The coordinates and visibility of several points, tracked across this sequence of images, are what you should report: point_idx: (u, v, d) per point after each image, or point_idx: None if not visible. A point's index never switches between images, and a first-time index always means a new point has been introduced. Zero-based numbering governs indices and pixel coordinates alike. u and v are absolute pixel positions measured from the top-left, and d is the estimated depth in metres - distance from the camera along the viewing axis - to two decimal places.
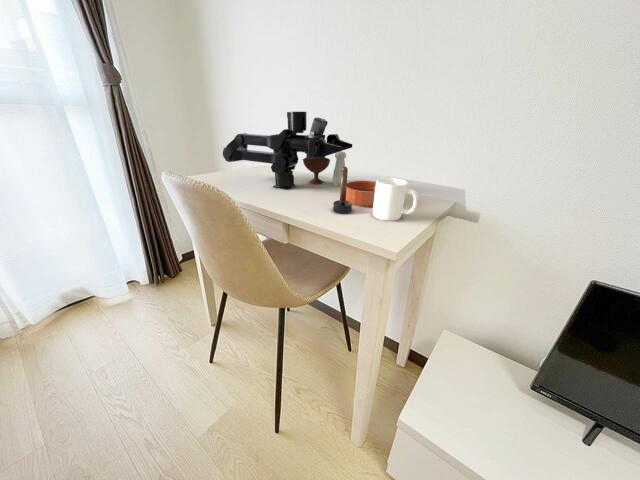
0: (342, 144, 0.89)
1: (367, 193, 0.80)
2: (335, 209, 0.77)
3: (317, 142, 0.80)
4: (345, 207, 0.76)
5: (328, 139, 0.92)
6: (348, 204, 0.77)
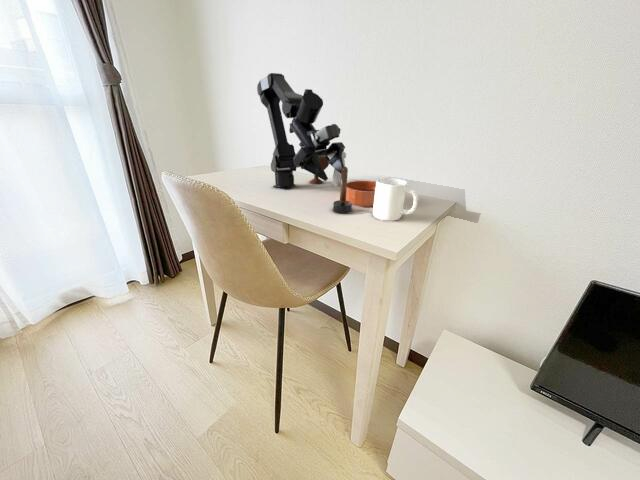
0: (338, 164, 0.79)
1: (367, 193, 0.80)
2: (335, 209, 0.77)
3: (308, 156, 0.69)
4: (345, 207, 0.76)
5: (332, 146, 0.79)
6: (348, 204, 0.77)
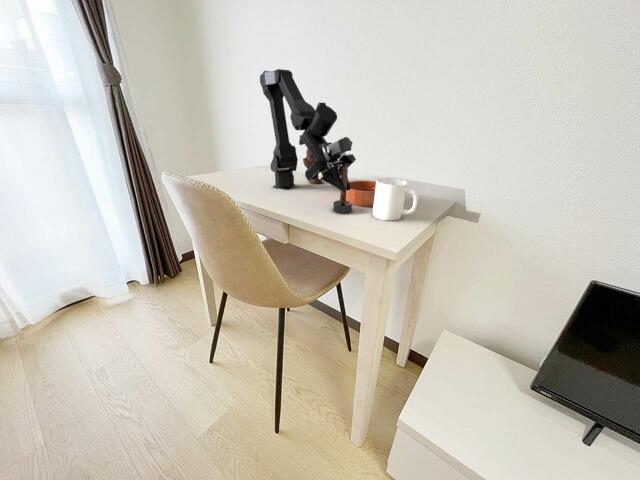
0: None
1: (367, 193, 0.80)
2: (335, 209, 0.77)
3: (328, 169, 0.71)
4: (345, 207, 0.76)
5: (343, 159, 0.79)
6: (348, 204, 0.77)
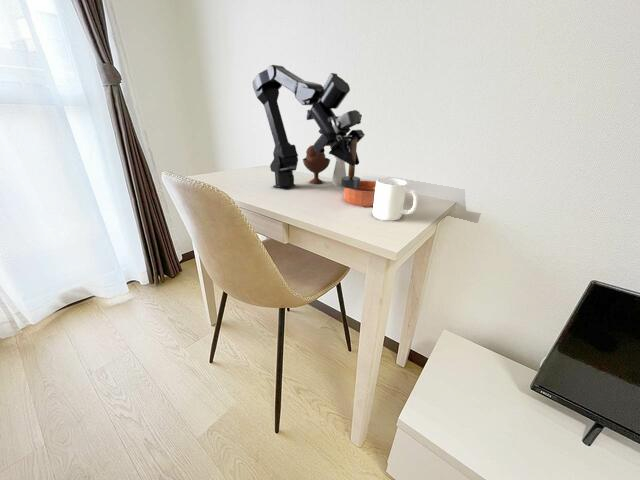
0: None
1: (367, 193, 0.80)
2: (343, 184, 0.77)
3: (338, 141, 0.71)
4: (354, 181, 0.75)
5: (351, 134, 0.78)
6: (356, 179, 0.76)
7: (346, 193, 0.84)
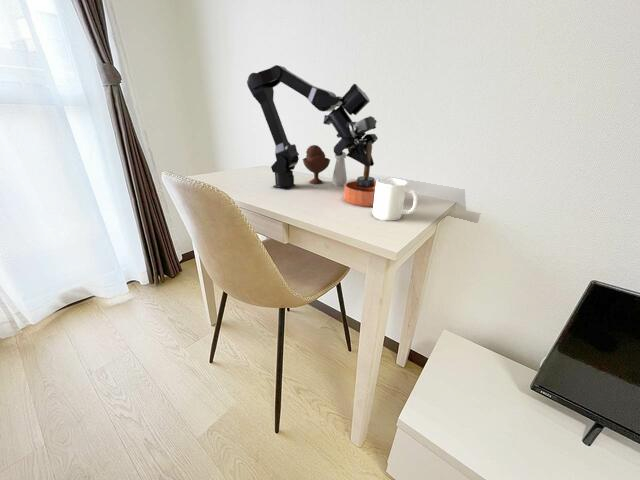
0: None
1: (367, 193, 0.80)
2: (359, 183, 0.84)
3: (355, 144, 0.78)
4: (369, 181, 0.82)
5: (366, 137, 0.85)
6: (371, 179, 0.83)
7: (346, 193, 0.84)
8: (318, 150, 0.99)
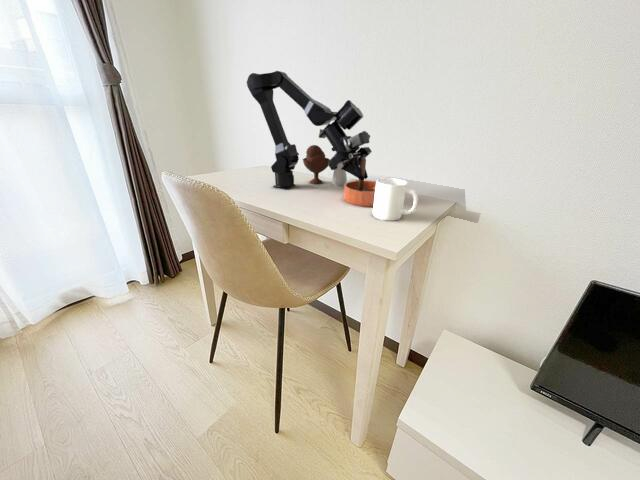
0: None
1: (367, 193, 0.80)
2: None
3: (349, 159, 0.80)
4: None
5: (360, 151, 0.88)
6: None
7: (346, 193, 0.84)
8: (318, 150, 0.99)
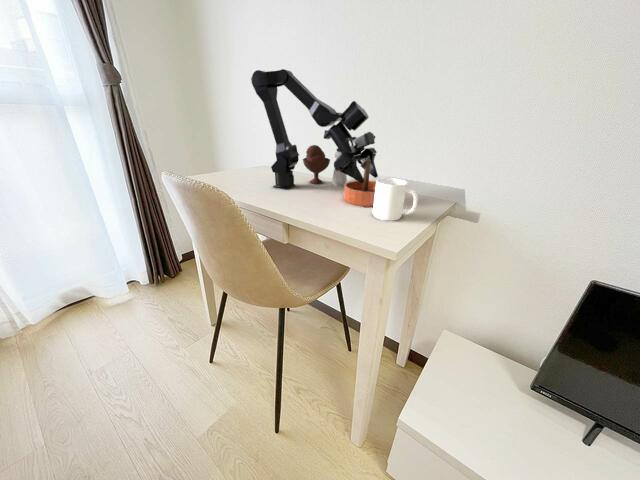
0: (371, 167, 0.87)
1: (367, 193, 0.80)
2: None
3: (348, 161, 0.78)
4: None
5: (365, 151, 0.88)
6: None
7: (346, 193, 0.84)
8: (318, 150, 0.99)
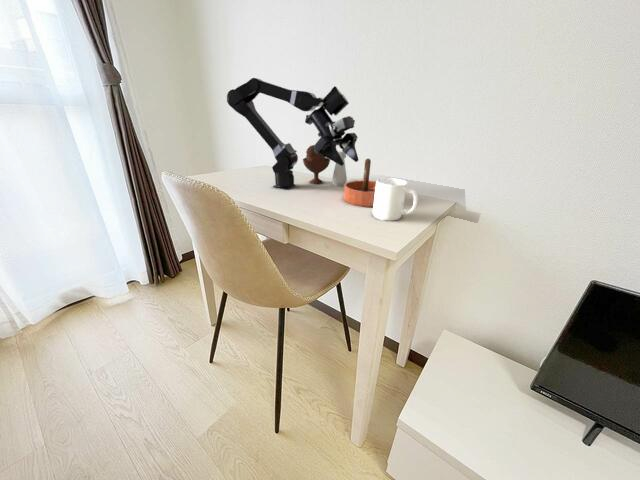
0: (352, 152, 0.90)
1: (367, 193, 0.80)
2: None
3: (328, 144, 0.80)
4: None
5: (346, 136, 0.90)
6: None
7: (346, 193, 0.84)
8: None
